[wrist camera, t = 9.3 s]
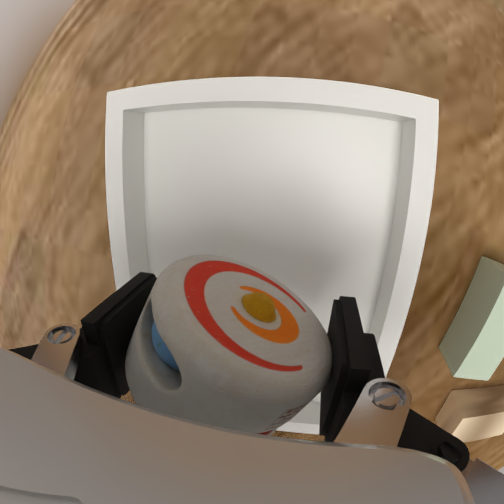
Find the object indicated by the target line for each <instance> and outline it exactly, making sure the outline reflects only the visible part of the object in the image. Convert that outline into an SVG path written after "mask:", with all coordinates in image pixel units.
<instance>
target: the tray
mask: <svg viewBox="0 0 504 504" xmlns="http://www.w3.org/2000/svg"><path fill="white" fill-rule="evenodd" d="M438 116H439V100H437V99H433V98H429V97H425V96H421V95H417V94H412V93H408V92H403V91H398V90H393V89H388V88H382V87H376V86H370V85H364V84H357V83H349V82H341V81H331V80H321V79H308V78H290V77H224V78H206V79H193V80H182V81H173V82H165V83H157V84H150V85H143V86H137V87H131V88H126V89H120V90H115V91H110V92H107V103H106V127H105V173H106V197H107V213H108V226H109V236H110V246H111V255H112V263H113V270H114V278H115V284H116V291H117V290H118V289H119V288H121V287H122V286H123V285H124V284H126V283H127V282H128V281H129V280H131V279H132V278H133V277H134V276H136V275H137V274H138V273H139V272H146V273H153V274H155V276H156V278H158V276H159V275H160V274H161V272H162V271H163V270H164V269H165V268H166V267H167V266H169V265H170V264H171V263H173V262H175V261H177V260H179V259H182V258H185V257H189V256H194V255H216V256H223V257H228V258H232V259H235V260H238V261H241V262H244V263H246V264H249V265H251V266H253V267H255V268H257V269H259V270H261V271H263V272H265V273H267V274H268V275H270V276H272V277H273V278H275V279H276V280H278V281H279V282H281V283H282V284H283V285H285V286H286V287H287V288H289V289H290V290H291V291H292V292H293V293H295V294H296V295H297V296H298V297H299V298H300V299H301V300H302V301H303V302H304V303H305V304H306V305H307V306H308V307H309V308H310V309H311V310H312V312H313V313H314V314H315V316H316V317H317V318H318V320H319V321H320V322H321V324H322V326H323V328H324V329H325V331H326V333H327V332H328V327H329V322H330V316H331V311H332V305H333V301H334V299H337V300H339V297H340V296H347V297H355V298H356V302H357V306H358V310H359V314H360V319H361V323H362V327H363V332H364V333H373V334H374V336H375V339H376V343H377V347H378V350H379V354H380V358H381V362H382V366H383V371H384V375H385V378H386V375H387V373H388V370H389V367H390V365H391V362H392V359H393V356H394V354H395V351H396V348H397V345H398V342H399V339H400V336H401V333H402V330H403V327H404V324H405V320H406V317H407V314H408V310H409V307H410V303H411V300H412V296H413V292H414V288H415V284H416V280H417V276H418V272H419V268H420V263H421V259H422V254H423V249H424V244H425V239H426V234H427V228H428V223H429V216H430V210H431V203H432V196H433V188H434V179H435V169H436V158H437V143H438ZM320 398H321V392H320V393H319V394H318V395H317V396H316V397H315V398H314V399H313V400H312V401H311V402H310V403H309V404H307V405H306V406H305V407H304V408H303V409H302V410H301V411H300V412H299V413H298V414H297V415H296V416H295V417H293V418H292V419H291V420H290V421H288V422H287V423H285V424H284V425H282V426H280V427H279V428H277V429H276V430H278V431H287V432H296V433H308V434H319V426H320Z"/></svg>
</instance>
